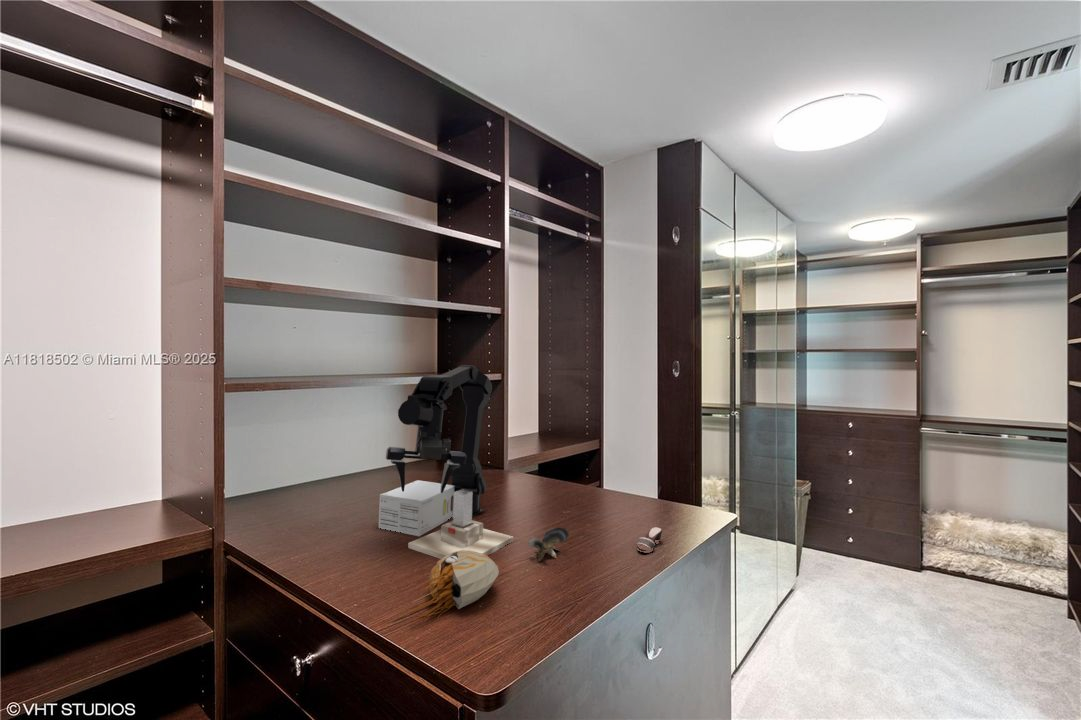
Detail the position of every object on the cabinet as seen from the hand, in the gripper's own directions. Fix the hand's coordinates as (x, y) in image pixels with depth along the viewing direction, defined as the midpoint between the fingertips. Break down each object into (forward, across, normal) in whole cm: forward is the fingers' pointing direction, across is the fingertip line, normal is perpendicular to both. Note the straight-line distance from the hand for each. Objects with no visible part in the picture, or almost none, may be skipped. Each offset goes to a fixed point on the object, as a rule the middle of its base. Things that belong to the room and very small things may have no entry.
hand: (422, 492), depth 119 cm
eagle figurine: (+12, +29, -12) cm, 34 cm away
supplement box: (+11, +2, +18) cm, 22 cm away
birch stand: (+12, +11, 0) cm, 16 cm away
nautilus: (+17, +4, -25) cm, 31 cm away
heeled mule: (+10, +55, -14) cm, 57 cm away
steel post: (+11, +11, 0) cm, 15 cm away
